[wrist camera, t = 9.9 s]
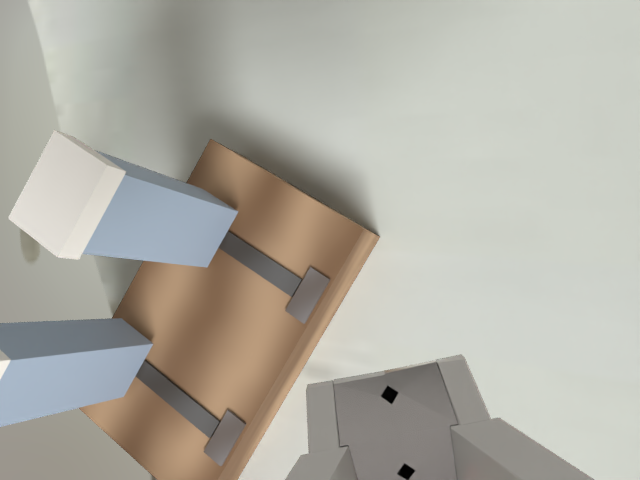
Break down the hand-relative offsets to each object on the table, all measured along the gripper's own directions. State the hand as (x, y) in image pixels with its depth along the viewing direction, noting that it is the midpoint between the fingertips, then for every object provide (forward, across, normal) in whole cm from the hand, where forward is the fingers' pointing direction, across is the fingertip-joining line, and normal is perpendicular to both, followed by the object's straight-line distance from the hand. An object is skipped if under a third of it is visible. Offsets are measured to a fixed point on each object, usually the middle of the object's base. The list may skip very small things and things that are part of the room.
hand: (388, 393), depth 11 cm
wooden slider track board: (+24, +9, +14) cm, 29 cm away
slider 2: (+21, +16, +13) cm, 29 cm away
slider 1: (+23, +9, +7) cm, 26 cm away
